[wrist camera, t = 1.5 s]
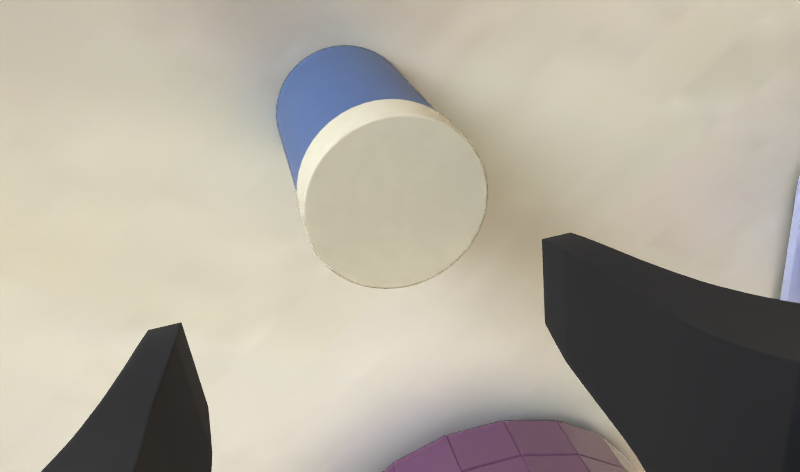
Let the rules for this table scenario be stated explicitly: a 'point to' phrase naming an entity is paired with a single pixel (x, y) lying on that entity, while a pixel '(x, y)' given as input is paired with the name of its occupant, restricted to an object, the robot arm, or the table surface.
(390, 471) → the bowl
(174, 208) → the table surface
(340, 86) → the glue stick
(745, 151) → the table surface
